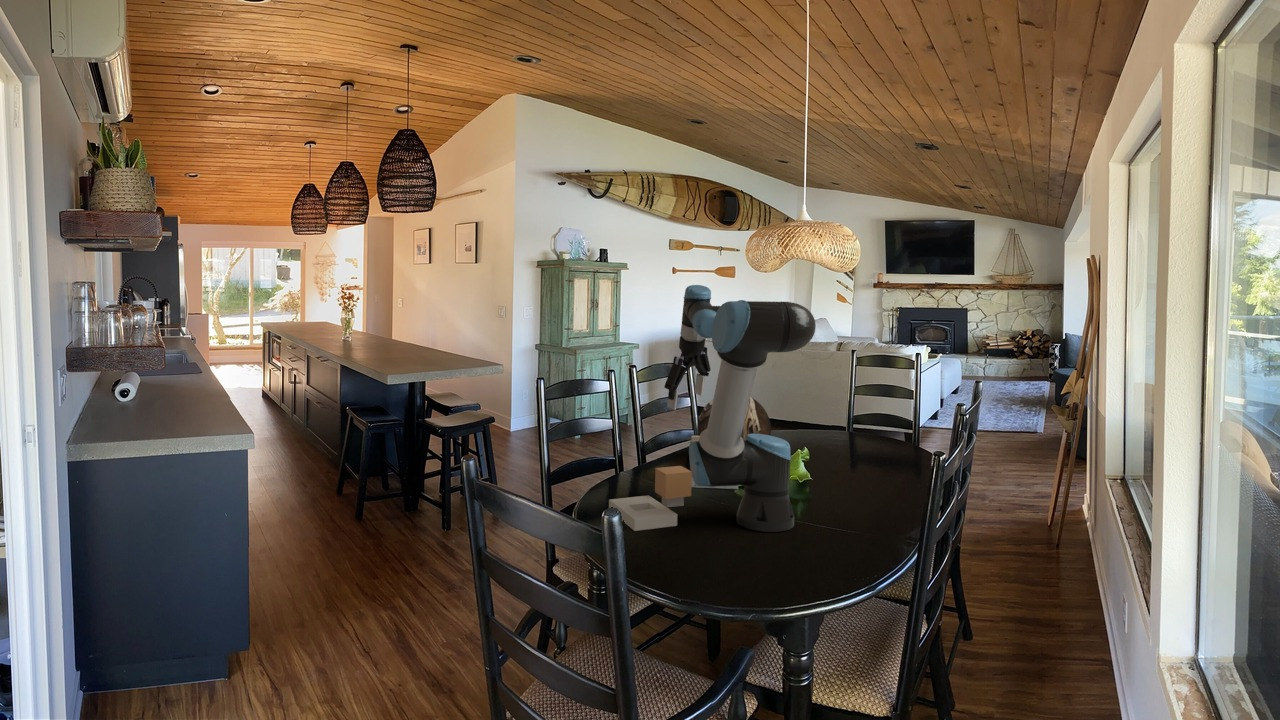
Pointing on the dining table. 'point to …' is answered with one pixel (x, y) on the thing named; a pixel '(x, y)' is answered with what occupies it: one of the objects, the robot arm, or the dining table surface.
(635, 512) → the socket plate
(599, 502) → the dining table surface
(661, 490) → the plug
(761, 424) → the sphere
